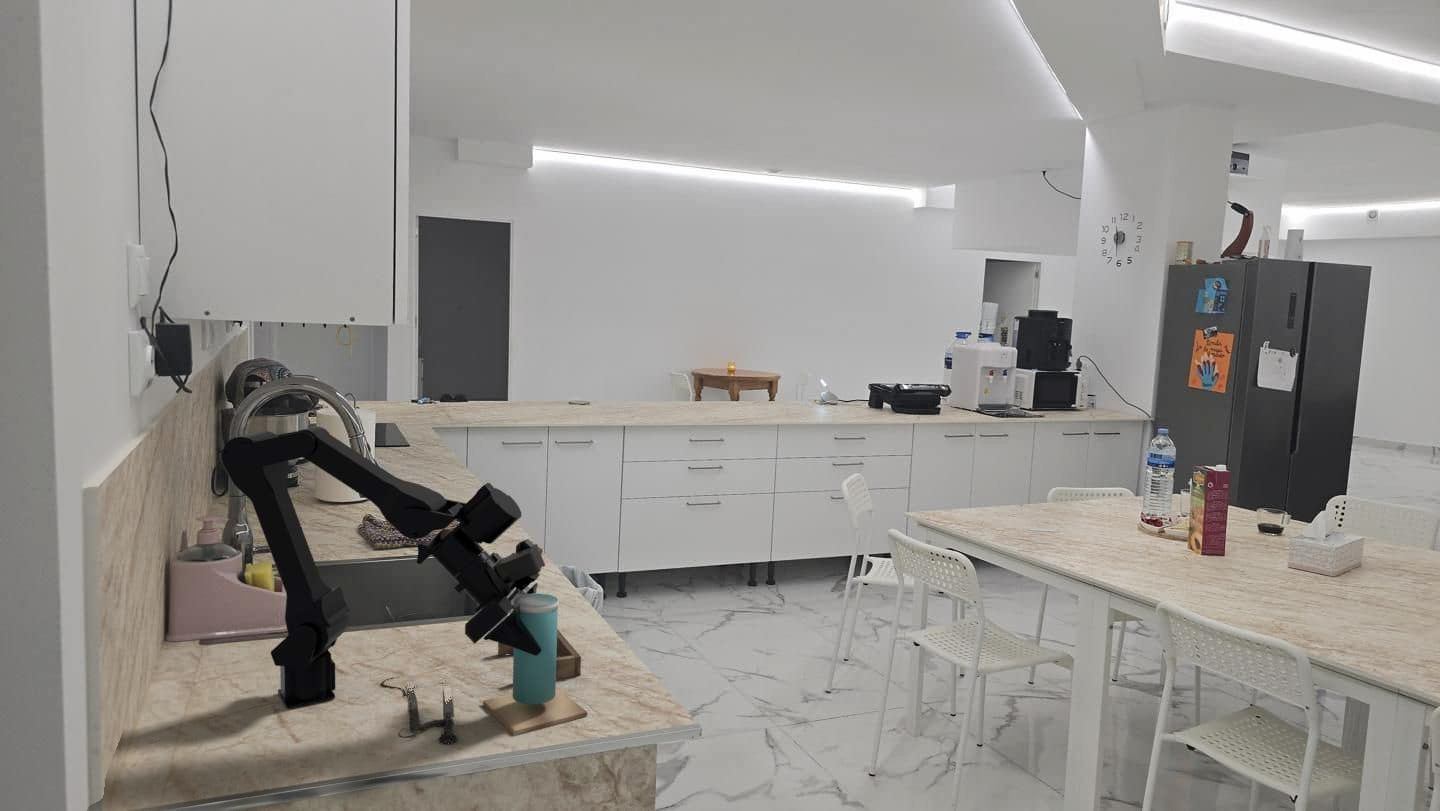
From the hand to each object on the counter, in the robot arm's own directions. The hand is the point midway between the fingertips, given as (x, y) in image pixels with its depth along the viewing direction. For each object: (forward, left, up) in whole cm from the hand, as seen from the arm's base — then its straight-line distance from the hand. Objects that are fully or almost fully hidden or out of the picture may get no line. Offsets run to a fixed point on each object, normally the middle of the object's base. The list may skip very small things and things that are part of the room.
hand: (544, 644), depth 130 cm
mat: (-1, +1, -10) cm, 10 cm away
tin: (-1, +1, -8) cm, 8 cm away
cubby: (+6, +16, -10) cm, 19 cm away
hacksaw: (-15, +10, -10) cm, 21 cm away
